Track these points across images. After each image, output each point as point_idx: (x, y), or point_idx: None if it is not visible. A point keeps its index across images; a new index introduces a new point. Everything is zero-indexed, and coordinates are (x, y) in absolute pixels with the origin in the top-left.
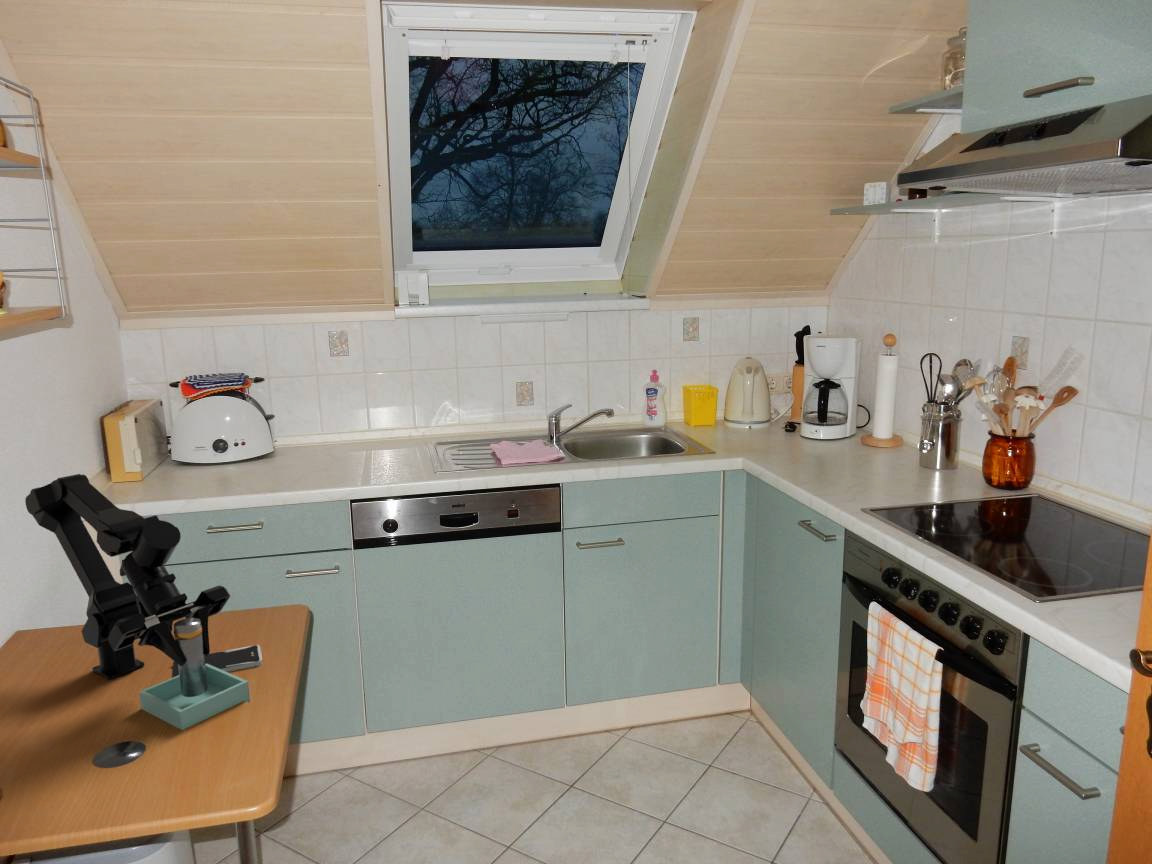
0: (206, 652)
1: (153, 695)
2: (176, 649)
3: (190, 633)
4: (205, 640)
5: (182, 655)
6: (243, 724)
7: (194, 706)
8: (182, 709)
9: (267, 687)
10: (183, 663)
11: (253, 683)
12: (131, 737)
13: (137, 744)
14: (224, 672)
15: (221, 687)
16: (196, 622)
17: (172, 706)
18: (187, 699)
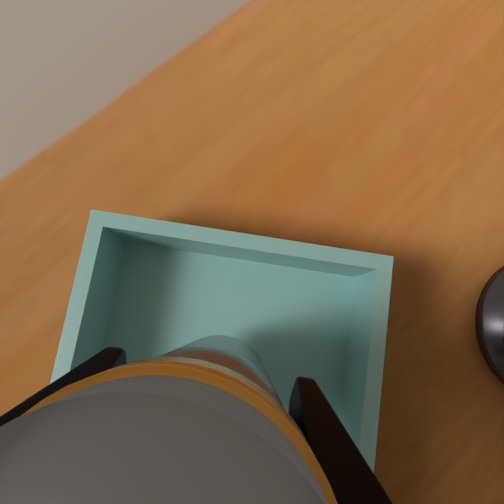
0: (122, 362)
1: None
2: (345, 461)
3: (246, 387)
4: None
5: (303, 407)
6: (241, 140)
7: (332, 247)
8: (375, 265)
9: (18, 251)
10: (307, 377)
11: (9, 322)
12: (460, 407)
13: (496, 325)
14: (60, 374)
15: None
16: (22, 489)
17: (378, 325)
18: None
